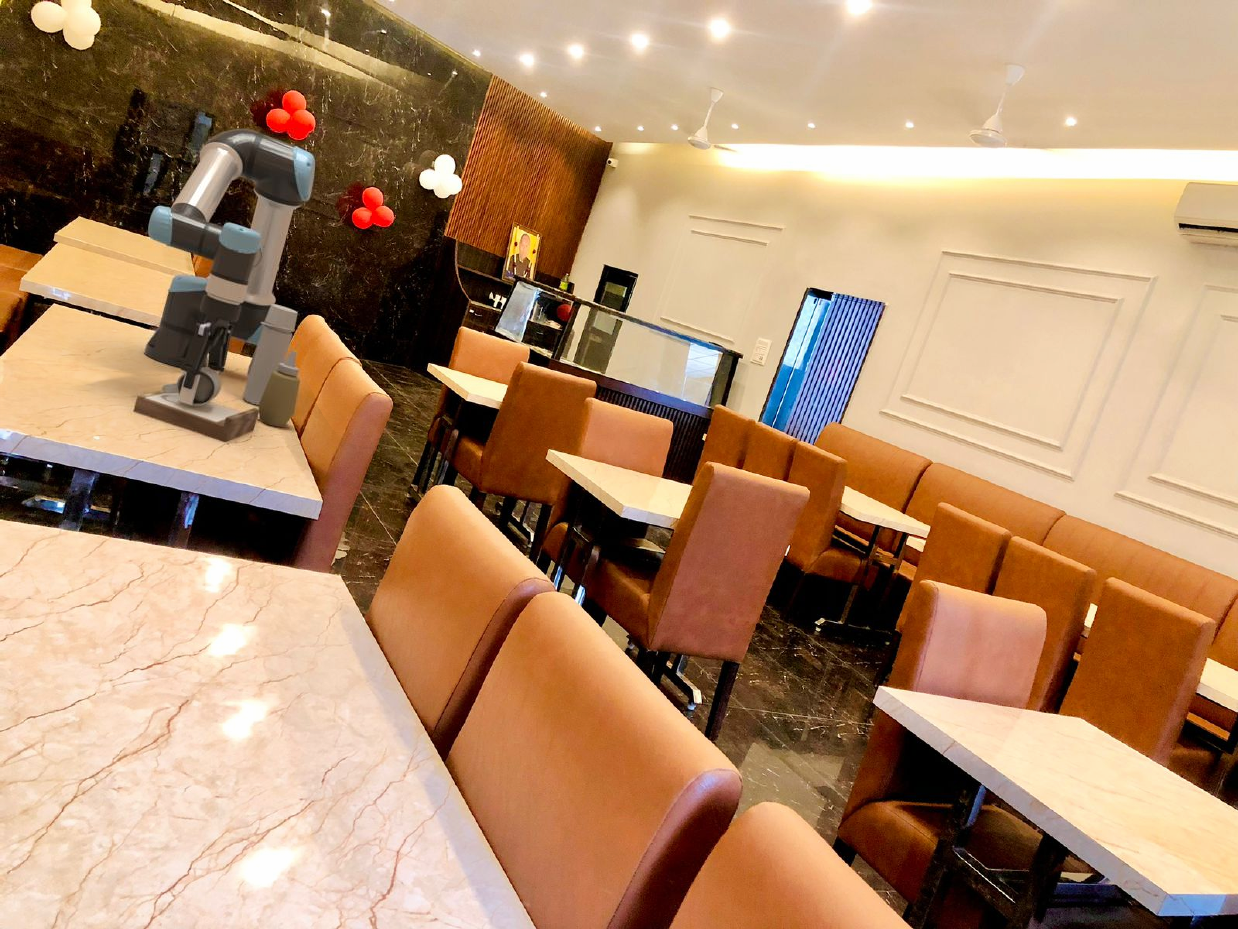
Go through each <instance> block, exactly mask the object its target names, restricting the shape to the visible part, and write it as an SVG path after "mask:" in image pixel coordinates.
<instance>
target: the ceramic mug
mask: <svg viewBox="0 0 1238 929" xmlns="http://www.w3.org/2000/svg"><path fill="white" fill-rule="evenodd" d="M208 368H209V367H207V368H204V367H202V368H201V370H200V372H199V374H198V375H200V379H199V383H198V386H197V390H196V393H195V397H194V400H193V404H192V405H194V406H202V405H205V404H207V403H209V402H212V401H213V400H214V399H215V398H216V397H217V396H218V395H219V393H220V391H221V389H222V381H221V378H220V377H219V374H218V375H217V374H216V373H215V372H214V371H212V370H211V369H208ZM185 373H186V371H183V373H182V374H181V375H180V376H179V377H178V379H177V381H176V382H173V383H168V384H164V385H162V387H161V388H162V390H163V393H166V394H167V393H178V395H180V391H181V387H182V384H183V380H184V377H185Z"/></svg>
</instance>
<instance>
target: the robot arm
mask: <svg viewBox="0 0 1238 929" xmlns="http://www.w3.org/2000/svg"><path fill="white" fill-rule="evenodd" d="M315 169H316V160H315V157H314V155H313V154H312V153H311V152H308V151H307V150H304V149H302V148H301V147H299V146H297V145H294V144H291V143H289V142H285V141H282V140H281V139H277V138H275V137H271V136H269V135H266V134H264V133H261V132H259V131H256V130H253V129H248V128H235V129H234V128H233V129H229V130H226V131H221V132H220V133H218V134H216V135H213V136H212V137H211V138H210V139H209V140H207V141H206V142H205V143H204V145H203V147H202V148H201V150H200V152H199V163H198V164H197V166H196V167H195V169H194V170H193V172H192V174H191V175H190V177H189V179H187V182H186V183H185V185H184V187H183V188H182V189H181V191H180V193H179V194H178V196H177V197H176V199H175V200H174V202H173V204H172V206H171V207H169V206H163V205H158V206H156V207H154V208H153V210H152V212H151V215H150V217H149V218H150V219H149V223H148V229H147V234H148V237H149V238H150V239H151V240H152V241H156V242H158V243H160V244H163V245H165V246H166V247H170V248H174V249H176V250H180V251H183V252H185V253H189V254H193V255H196V256H198V257H201V258H204V259H208V260H211V261H212V266H211V269H210V273H209V275H208V276H207V277H201V276H195V275H188V274H186V275H185V274H178V275H175V276H174V277H173V278H172V280H171V283H170V286H169V288H168V289H167V292H168V293H167V296H166V301H165V303H164V308H163V311H162V315H161V319H160V321H159V322H160V323H159V324H158V325H159V326H158V327H157V329H156V331H155V332H154V333H153V335H151V337H150V338H149V340H148V342H147V343H146V344H145V348H144V354H145V355H146V356H147V355H148V357H149V356H150V357H149V358H151V359H154V360H155V361H158V362H160V363H164V364H166V363H167V365H171V366H174V367H177V366H178V367H177V368H181V367H182V368H181V371H183V372H186V373H185V377H184V380H183V384H182V387H181V391H180V395H179V398H178V401H180V402H183V403H186V404H189V405H192V404H193V400H194V397H195V393H196V390H197V386H198V383H199V379H200V375H198V374H199V372H200V370H201V368H202V367H204V368H208V369H211V370H212V371H214V372H215V373H216V374H217V375H218V376H219V373H220V372H222V373H224V371H225V367H226V361H227V357H228V353H229V348H230V344H231V338H232V339H235V340H237V341H241V342H244V343H249V344H253V345H256V346H257V345H258V342H259V340H260V336H261V333H262V330H263V326H264V324H261V322H265V319H266V317H267V314H268V312H269V309H270V307H271V304H276V300H277V299H276V297H275V296H274V294H273V289H274V283H275V282H276V277H277V272H278V269H279V265H280V261H281V257H282V255H283V250H284V247H285V244H286V239H287V235H288V231H289V228H290V225H291V220H292V216H293V213H294V210H296V209H298V208H300V207H302V204H303V202H308V201H310V198H311V195H312V190H313V185H314V180H315V171H316V170H315ZM239 177H241V178H244V179H246V180H248V181H251V182H253V183H254V187H253V191H254V194H256V196H257V202H256V206H255V210H254V214H253V219H252V221H251V225H250V226H251V227H250V228H248V227H245V226H243V225H239V224H236V223H232V222H226V223H224V225H223V226H221V225H218V224H215V223H212V222H210V220H211V218H212V216H213V215H214V213H215V211H216V209H217V208H218V206H219V205H220V202H221V200H222V199H223V197H224V196H225V193H226V192H227V190H228V189H229V186H230V184H231V183H232V181H234V180H236V179H239Z"/></svg>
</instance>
